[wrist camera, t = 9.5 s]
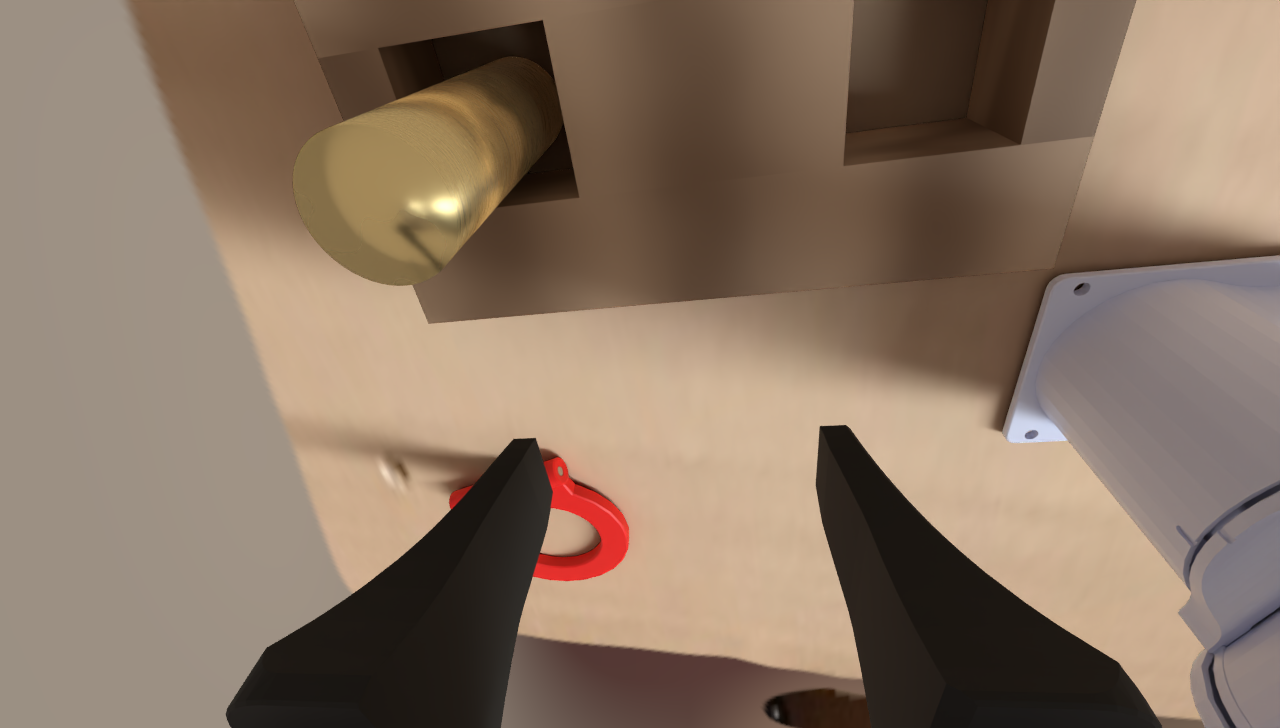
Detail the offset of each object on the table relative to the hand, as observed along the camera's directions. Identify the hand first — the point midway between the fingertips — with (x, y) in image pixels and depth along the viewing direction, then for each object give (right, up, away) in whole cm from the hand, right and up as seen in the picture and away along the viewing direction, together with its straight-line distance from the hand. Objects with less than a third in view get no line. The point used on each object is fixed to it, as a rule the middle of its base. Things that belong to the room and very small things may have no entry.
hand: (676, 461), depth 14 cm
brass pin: (-5, +11, +4) cm, 13 cm away
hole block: (+1, +11, +3) cm, 12 cm away
